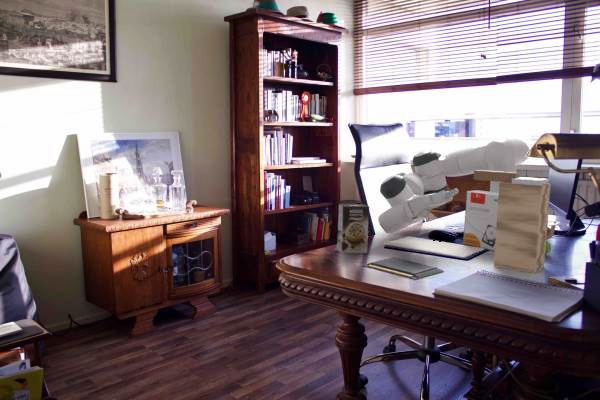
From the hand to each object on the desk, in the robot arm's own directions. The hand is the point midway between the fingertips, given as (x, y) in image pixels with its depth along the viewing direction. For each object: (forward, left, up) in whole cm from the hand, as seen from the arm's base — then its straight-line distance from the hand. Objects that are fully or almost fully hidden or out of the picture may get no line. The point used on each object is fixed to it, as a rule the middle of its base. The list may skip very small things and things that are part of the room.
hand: (451, 191), depth 175 cm
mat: (-7, -9, -21) cm, 24 cm away
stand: (0, +23, -21) cm, 32 cm away
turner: (0, +18, +5) cm, 19 cm away
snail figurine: (-22, +24, -22) cm, 39 cm away
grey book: (+28, -2, -22) cm, 36 cm away
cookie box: (+20, -26, -22) cm, 39 cm away
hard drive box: (-21, +5, -22) cm, 31 cm away
